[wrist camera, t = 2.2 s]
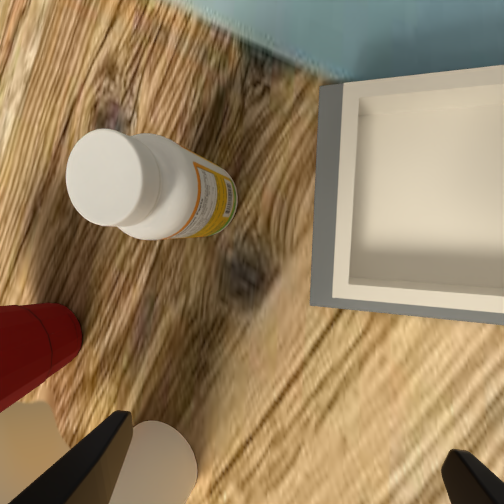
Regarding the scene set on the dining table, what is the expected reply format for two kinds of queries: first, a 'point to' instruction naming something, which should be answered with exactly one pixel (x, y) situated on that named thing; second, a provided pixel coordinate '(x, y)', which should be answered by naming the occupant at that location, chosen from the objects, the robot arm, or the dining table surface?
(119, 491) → the cylindrical container
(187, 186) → the supplement bottle
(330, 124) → the mat
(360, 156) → the dish
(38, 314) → the plastic cup
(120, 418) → the robot arm
